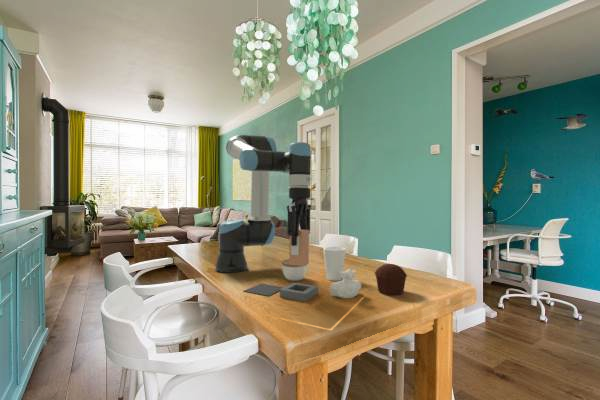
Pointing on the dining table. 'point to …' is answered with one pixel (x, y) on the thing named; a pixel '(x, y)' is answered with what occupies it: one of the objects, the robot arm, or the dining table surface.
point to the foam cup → (334, 262)
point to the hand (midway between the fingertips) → (299, 253)
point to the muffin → (390, 279)
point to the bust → (346, 285)
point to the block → (301, 249)
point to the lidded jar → (293, 271)
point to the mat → (264, 289)
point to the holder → (299, 291)
